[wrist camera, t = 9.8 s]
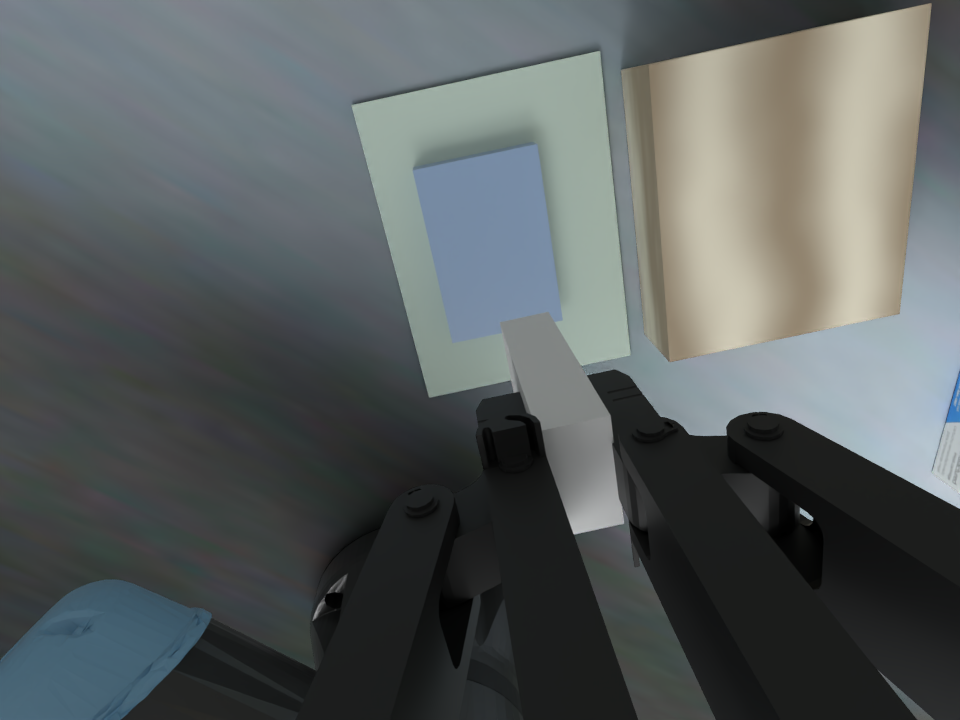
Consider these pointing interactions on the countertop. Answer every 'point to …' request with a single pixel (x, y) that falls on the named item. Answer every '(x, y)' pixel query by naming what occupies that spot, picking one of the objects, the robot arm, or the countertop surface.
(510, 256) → the blue flat block
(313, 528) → the countertop surface
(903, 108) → the beige flat block
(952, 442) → the ink box
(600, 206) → the mat
